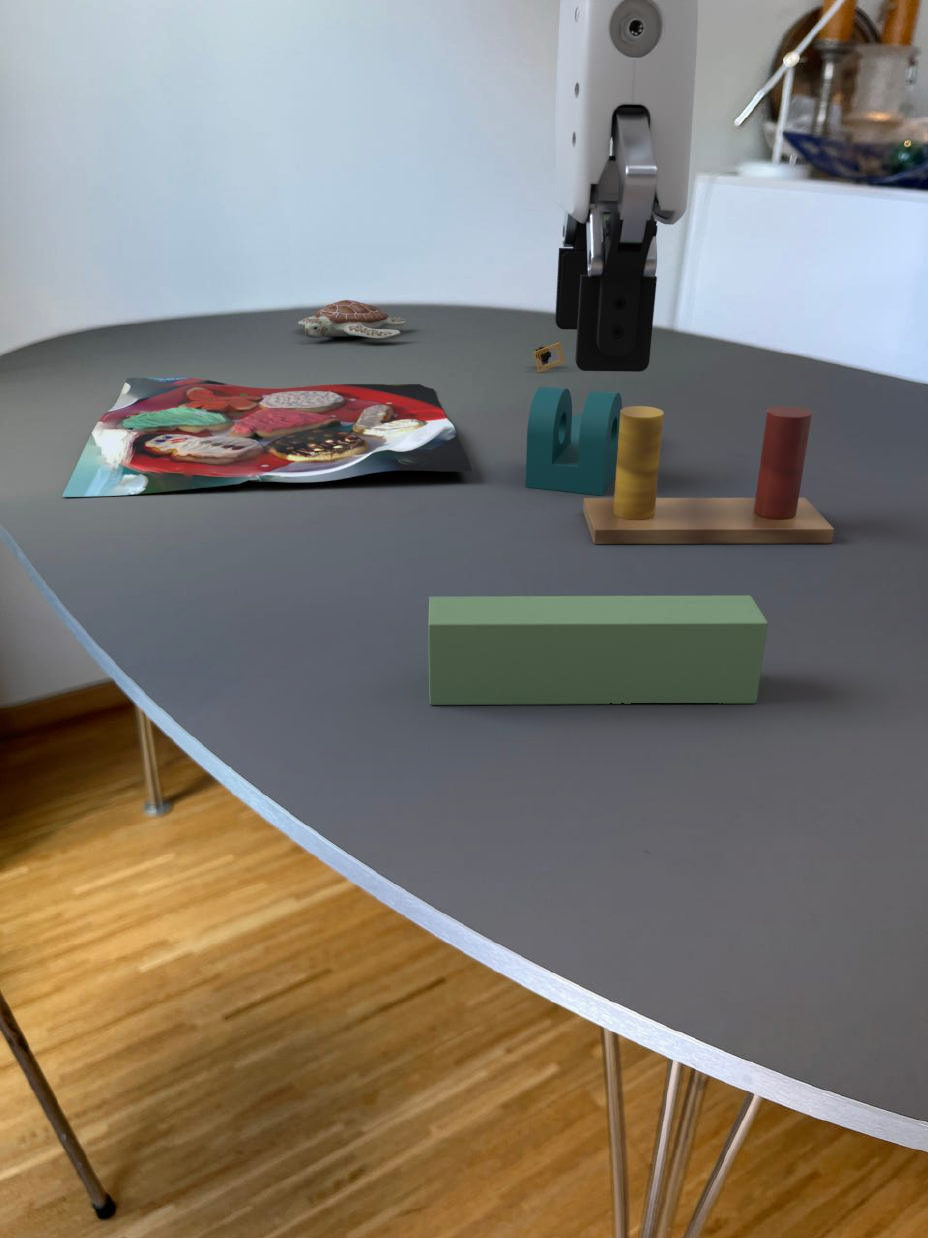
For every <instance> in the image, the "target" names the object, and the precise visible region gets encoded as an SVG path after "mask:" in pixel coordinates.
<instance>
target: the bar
mask: <svg viewBox="0 0 928 1238" xmlns="http://www.w3.org/2000/svg"><path fill="white" fill-rule="evenodd" d="M427 619H428V622H427V628H428V629H427V630H428V631H427V634H428V636H427V637H428V641H427V643H428V697H429V698H428V703H429V705H430V706H472V705H473V706H492V705H493V706H494V705H496V706H497V705H498V706H499V705H500V706H501V705H502V706H503V705H504V706H507V705H512V706H513V705H517V706H518V705H520V706H521V705H523V706H524V705H525V706H526V705H529V706H530V705H622V704H621V703H624V704H623V705H632V704H631V703H719V704H721V703H723V704H757V700H758V694H759V688H760V680H761V674H762V673H761V672H762V667H763V660H764V654H765V646H766V640H767V633H768V627H769V622H768V621H767V619H766V617H765V616H764V614H763V612H762V611H761V610H760V608H759V606H758V605H757V603H756V601H755V599H754V598H753V596H752V595H745V594H744V595H740V594H739V595H537V596H536V595H532V596H530V595H526V596H525V595H514V596H513V595H511V596H509V595H507V596H502V595H501V596H499V595H498V596H497V595H496V596H495V595H494V596H493V595H492V596H491V595H490V596H489V595H487V596H483V595H482V596H479V595H477V596H475V595H473V596H471V595H470V596H469V595H468V596H429V597H428V618H427ZM610 703H612V704H610Z"/></svg>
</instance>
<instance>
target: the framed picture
mask: <svg viewBox="0 0 928 1238" xmlns="http://www.w3.org/2000/svg"><path fill="white" fill-rule="evenodd" d="M553 350H555V351H556V355H557V359H558V360H555V361H552V362H550V363H549V359H550V358H552V352H551V351H553ZM533 356H534V360H535V364H536V368H537V372H538V373H541V372H543V371H544V372H545V371H547V370H549V369H551V368H554V367H557V366H559V365H561V364H564V363H566V360H565V356H564V352H563V348H562V344H561V342H560V341H559V342H556V343H554V344H551V345H549V346H546V347H545V346H539V347H538V349H537V348H536V349H535V351H534V352H533Z"/></svg>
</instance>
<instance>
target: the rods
mask: <svg viewBox="0 0 928 1238" xmlns="http://www.w3.org/2000/svg"><path fill="white" fill-rule="evenodd" d="M812 415H813V414H812V411H810V410H809V409H806V408H803V407H798V406H790V405H779V406H778V405H777V406H772V407H769V408H768V409H767V410H766V415H765V423H764V432H763V438H762V447H761V453H760V460H759V467H758V468H759V469H758V477H757V483H756V492H755V497H657V496H658V495H657V494H658V493H657V491H658V482H659V470H660V459H661V451H662V450H661V449H662V438H663V427H664V416H665V412H664V411H663V410H662V409H661V408H657V407H653V406H646V405H645V406H644V405H633V406H632V405H631V406H626V407H622V409H621V411H620V423H619V437H618V451H617V465H616V476H615V478H614V481H615V484H614V493H613V494H614V495H613V497H584V498H583V505H582V512H583V515H584V516H583V517H584V519H585V522H586V524H587V527H588V530H589V533H590V536H591V539H592V542H593V544H594V545H678V544H679V545H703V544H704V545H706V544H707V545H723V544H727V545H731V544H733V545H737V544H742V545H744V544H749V545H750V544H751V545H752V544H753V545H754V544H758V545H759V544H761V545H763V544H764V545H767V544H768V545H769V544H771V545H772V544H833V539H834V533H835V528H834V527H833V526H832V525H831V524H830V522H828V520H827V519H826V518H825V517H824V516H823V515H822V514H821V513H820V511H818V509H816V507H815V506H814V505H813V504H812V503H811V502H810V500H808V499H807V498H806V497H800V493H801V487H802V480H803V473H804V467H805V461H806V453H807V448H808V441H809V434H810V427H811V421H812Z"/></svg>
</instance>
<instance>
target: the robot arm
mask: <svg viewBox="0 0 928 1238" xmlns="http://www.w3.org/2000/svg"><path fill="white" fill-rule="evenodd" d="M698 16H699V0H560V2H559V18H558V34H557V35H558V36H557V37H558V39H557V60H556V61H557V63H556V85H555V86H556V87H555V119H554V121H555V123H554V125H555V126H554V127H555V128H554V175H555V176H554V177H555V180H554V181H555V183H554V185H555V198H556V199H555V200H556V203H557V205H558V206H559V208H561V209H562V210H563V211H565V212H564V216H563V217H564V218H563V225H562V235H561V236H562V241H561V243H562V247H558V256H557V257H558V260H557V276H556V277H557V280H556V299H555V315H554V316H555V318H554V320H555V321H554V322H555V324H556V326H557V328H559V329H560V330H576V340H575V341H576V342H575V357H574V360H575V364H576V366H577V368H578V369H579V370H580V371H582V372H634V373H636V372H637V373H639V372H640V373H641V372H644V371H646V370H647V369H648V367H649V365H650V359H651V358H650V357H651V347H652V336H653V325H654V315H655V305H656V304H655V303H656V293H657V281H658V277H657V276H656V273H657V265H658V245H657V234H658V225H657V223H658V222H659V223H661V224H664V225H675V224H676V223H677V222H679V221H680V220H681V219H682V218H683V216H684V215H685V213H686V211H687V206H688V194H689V180H690V166H691V164H690V163H691V147H692V133H693V120H694V119H693V117H694V103H695V101H694V100H695V85H696V67H697V47H698V20H699V19H698ZM611 141H612V142H611ZM610 153H611V155H610Z"/></svg>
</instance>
